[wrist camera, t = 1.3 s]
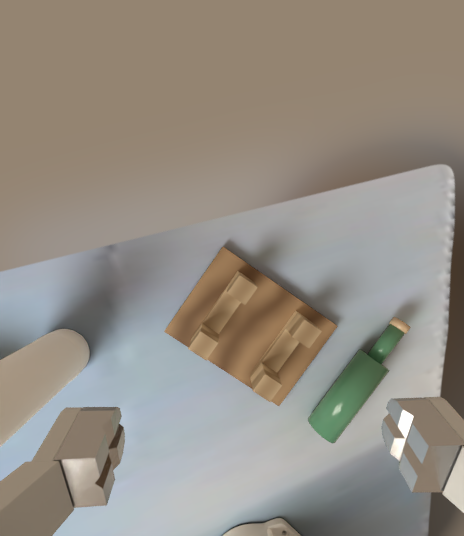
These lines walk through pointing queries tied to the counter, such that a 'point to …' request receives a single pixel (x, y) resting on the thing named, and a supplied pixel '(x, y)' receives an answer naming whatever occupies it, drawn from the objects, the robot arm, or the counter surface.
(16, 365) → the bottle
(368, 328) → the counter surface
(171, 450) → the counter surface
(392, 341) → the bottle
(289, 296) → the bottle rest
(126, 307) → the counter surface
